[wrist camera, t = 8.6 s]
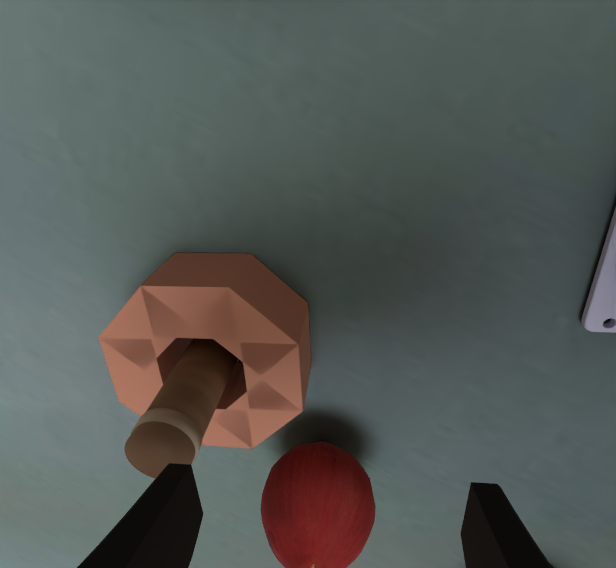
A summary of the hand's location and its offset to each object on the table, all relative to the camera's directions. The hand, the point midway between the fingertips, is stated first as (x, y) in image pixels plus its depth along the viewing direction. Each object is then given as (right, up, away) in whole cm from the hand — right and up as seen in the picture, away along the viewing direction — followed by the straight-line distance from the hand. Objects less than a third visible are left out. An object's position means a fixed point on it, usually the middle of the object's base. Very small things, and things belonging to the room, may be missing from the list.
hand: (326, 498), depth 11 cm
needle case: (-5, +3, +11) cm, 12 cm away
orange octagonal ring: (-5, +3, +11) cm, 12 cm away
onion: (0, -4, +14) cm, 15 cm away
